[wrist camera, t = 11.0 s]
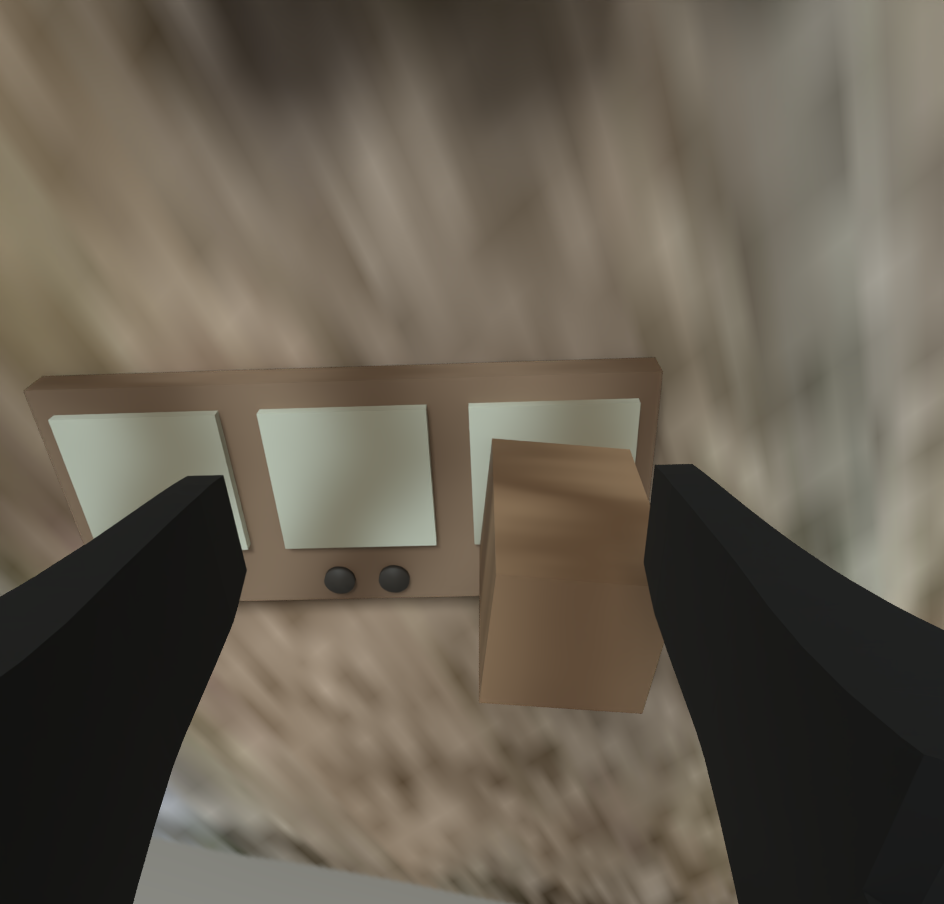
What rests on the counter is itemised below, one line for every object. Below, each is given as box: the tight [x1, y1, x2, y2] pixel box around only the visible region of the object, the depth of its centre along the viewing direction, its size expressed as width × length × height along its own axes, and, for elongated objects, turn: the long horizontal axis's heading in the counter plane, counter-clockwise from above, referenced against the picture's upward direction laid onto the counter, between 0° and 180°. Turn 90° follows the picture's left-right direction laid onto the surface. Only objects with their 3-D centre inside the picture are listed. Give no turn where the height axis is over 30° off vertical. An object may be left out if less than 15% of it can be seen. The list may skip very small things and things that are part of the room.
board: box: [24, 358, 663, 601], centre depth 22 cm, size 18×8×1 cm, turn 92°
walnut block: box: [479, 438, 664, 714], centre depth 19 cm, size 4×4×6 cm
